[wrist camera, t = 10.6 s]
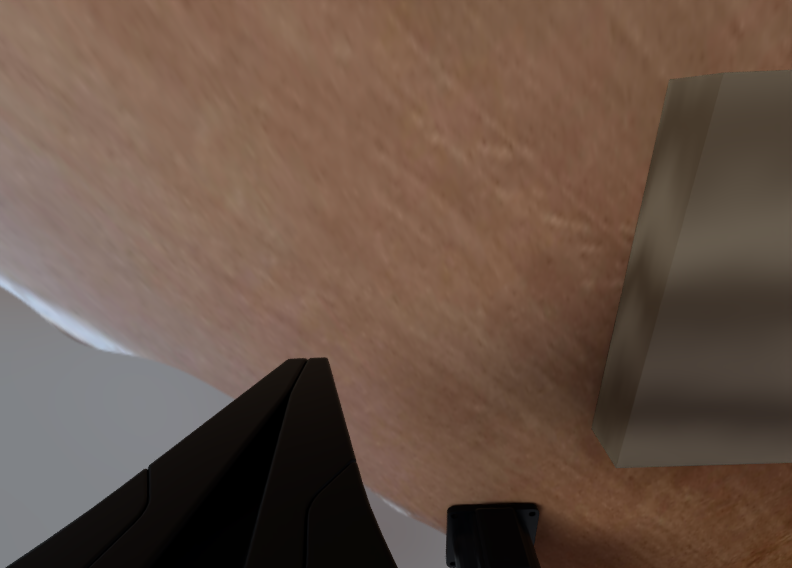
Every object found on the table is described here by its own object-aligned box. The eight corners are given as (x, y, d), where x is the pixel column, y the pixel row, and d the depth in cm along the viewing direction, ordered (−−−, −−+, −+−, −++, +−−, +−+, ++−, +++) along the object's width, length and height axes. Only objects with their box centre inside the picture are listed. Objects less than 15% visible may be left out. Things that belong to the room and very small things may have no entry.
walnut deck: (810, 421, 25) (862, 460, 22) (591, 428, 25) (615, 468, 22) (997, 65, 16) (1117, 56, 14) (669, 79, 17) (723, 72, 14)
